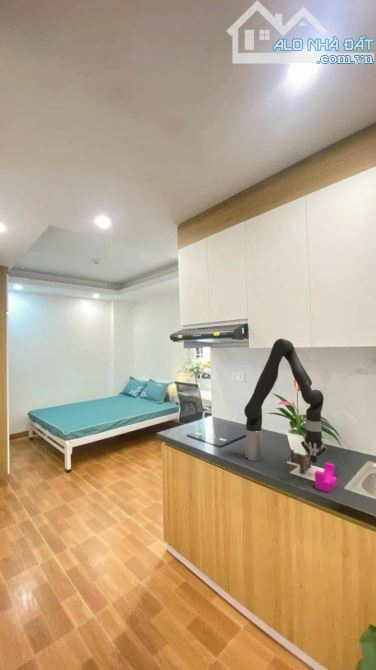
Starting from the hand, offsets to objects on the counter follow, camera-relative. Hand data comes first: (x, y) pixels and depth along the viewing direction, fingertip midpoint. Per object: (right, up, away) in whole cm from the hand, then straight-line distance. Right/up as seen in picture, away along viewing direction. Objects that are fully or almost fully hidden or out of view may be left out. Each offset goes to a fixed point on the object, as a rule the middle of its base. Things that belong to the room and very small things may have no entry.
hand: (313, 462), depth 143 cm
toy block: (+3, -7, -10) cm, 12 cm away
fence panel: (-3, -6, +5) cm, 8 cm away
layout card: (-3, -7, +6) cm, 9 cm away
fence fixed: (-2, -7, +12) cm, 14 cm away
